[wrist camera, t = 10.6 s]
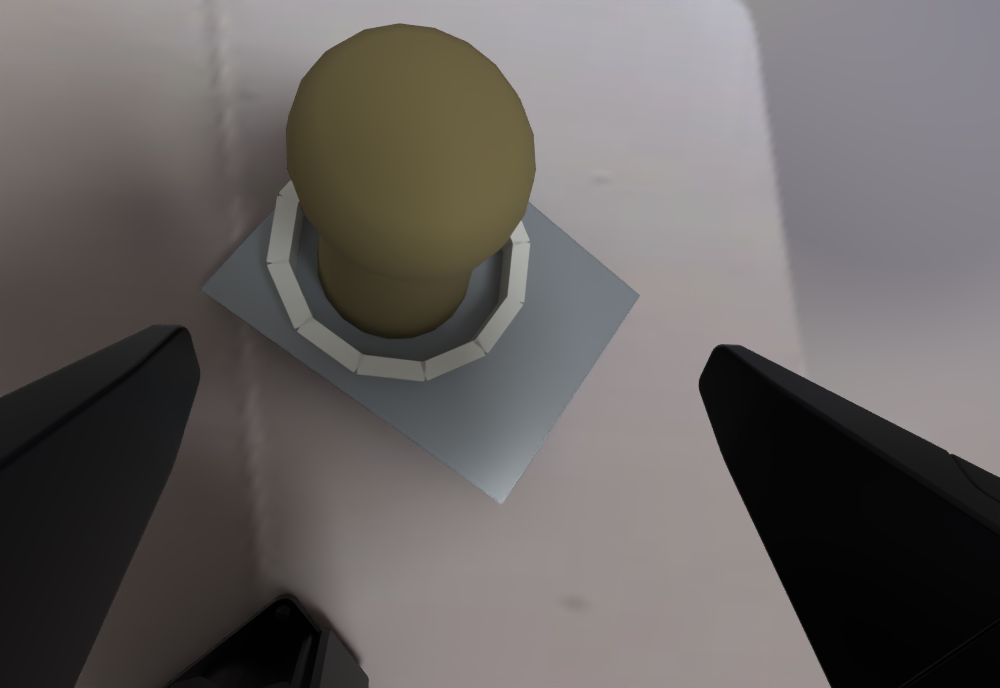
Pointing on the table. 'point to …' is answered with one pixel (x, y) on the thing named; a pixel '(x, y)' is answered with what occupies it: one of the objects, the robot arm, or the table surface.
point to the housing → (444, 340)
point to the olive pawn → (407, 173)
